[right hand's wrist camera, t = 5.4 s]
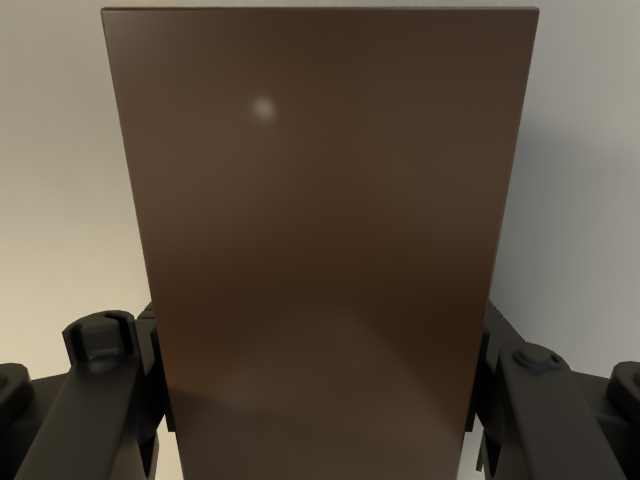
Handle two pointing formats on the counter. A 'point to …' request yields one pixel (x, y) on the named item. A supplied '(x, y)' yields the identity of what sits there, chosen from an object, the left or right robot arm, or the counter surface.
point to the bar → (320, 224)
